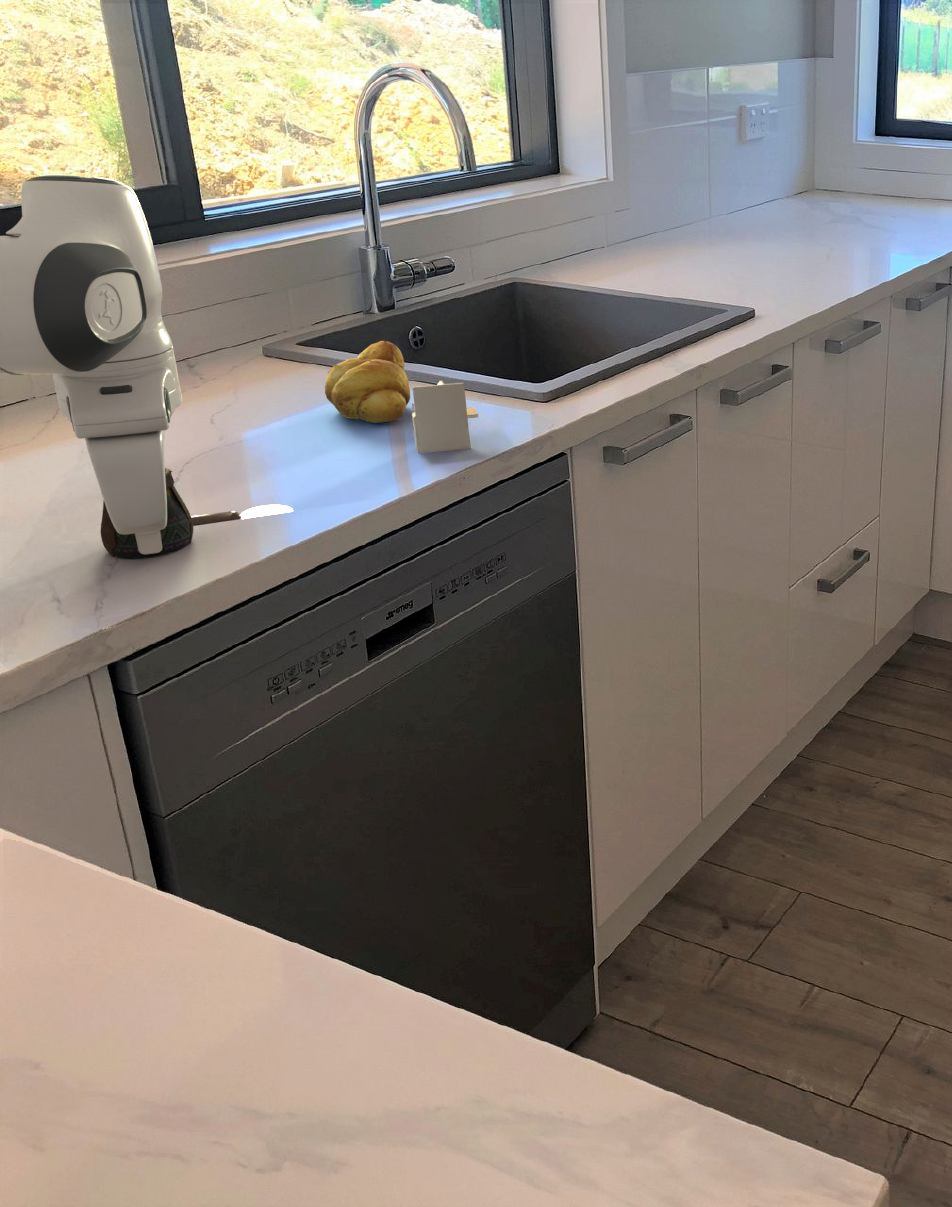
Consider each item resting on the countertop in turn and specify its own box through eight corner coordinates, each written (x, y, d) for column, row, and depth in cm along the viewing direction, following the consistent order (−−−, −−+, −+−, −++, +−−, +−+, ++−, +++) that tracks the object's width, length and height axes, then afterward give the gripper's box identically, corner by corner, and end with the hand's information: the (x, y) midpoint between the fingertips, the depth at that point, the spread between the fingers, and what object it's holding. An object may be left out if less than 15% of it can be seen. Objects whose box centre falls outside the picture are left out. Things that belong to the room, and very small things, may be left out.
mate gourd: (200, 544, 119) (180, 436, 116) (197, 569, 113) (176, 456, 109) (112, 554, 117) (89, 445, 113) (104, 580, 110) (79, 465, 107)
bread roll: (421, 425, 155) (413, 358, 152) (335, 433, 151) (325, 365, 148) (405, 398, 166) (398, 335, 162) (325, 406, 162) (315, 341, 159)
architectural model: (414, 445, 148) (406, 380, 145) (476, 438, 150) (470, 374, 147) (418, 453, 145) (410, 387, 142) (481, 447, 147) (475, 382, 144)
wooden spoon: (131, 550, 118) (127, 533, 117) (130, 532, 122) (127, 516, 121) (297, 527, 124) (295, 511, 123) (292, 511, 127) (289, 496, 127)
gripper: (77, 361, 112) (109, 514, 117) (70, 423, 95) (108, 598, 100) (158, 355, 114) (186, 505, 120) (166, 414, 97) (198, 585, 103)
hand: (151, 548), depth 110 cm, fingers closed
